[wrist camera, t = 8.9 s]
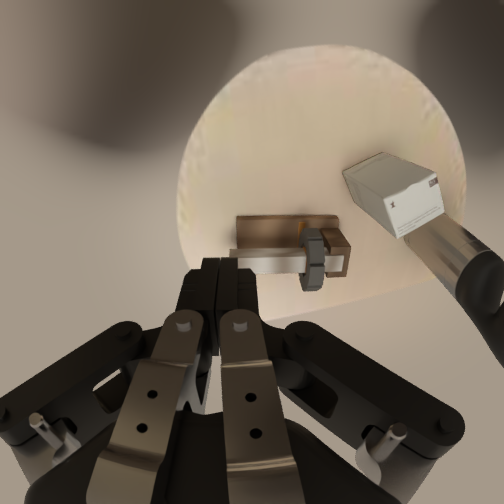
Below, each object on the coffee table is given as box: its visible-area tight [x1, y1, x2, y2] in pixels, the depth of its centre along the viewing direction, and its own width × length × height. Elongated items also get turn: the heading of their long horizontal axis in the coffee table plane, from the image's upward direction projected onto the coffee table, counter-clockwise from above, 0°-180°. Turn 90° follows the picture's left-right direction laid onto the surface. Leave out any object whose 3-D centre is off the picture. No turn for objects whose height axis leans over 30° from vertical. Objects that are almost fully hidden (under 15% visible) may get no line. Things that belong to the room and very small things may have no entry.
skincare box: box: [343, 152, 445, 239], centre depth 36 cm, size 8×6×15 cm
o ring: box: [298, 228, 325, 292], centre depth 42 cm, size 2×9×9 cm, turn 0°
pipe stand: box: [229, 216, 351, 278], centre depth 44 cm, size 17×8×8 cm, turn 90°
